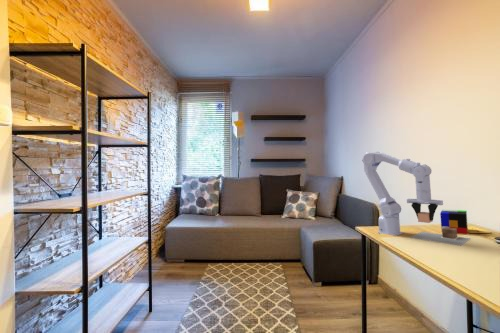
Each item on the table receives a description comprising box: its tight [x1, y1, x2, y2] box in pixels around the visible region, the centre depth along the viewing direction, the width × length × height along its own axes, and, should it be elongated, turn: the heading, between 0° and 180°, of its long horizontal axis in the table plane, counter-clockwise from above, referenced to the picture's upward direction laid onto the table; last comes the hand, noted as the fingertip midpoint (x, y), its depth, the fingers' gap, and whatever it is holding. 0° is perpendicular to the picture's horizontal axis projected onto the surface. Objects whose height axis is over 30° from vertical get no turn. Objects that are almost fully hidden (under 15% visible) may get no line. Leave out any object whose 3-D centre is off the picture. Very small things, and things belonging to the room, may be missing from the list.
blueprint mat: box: [409, 231, 471, 247], centre depth 125 cm, size 20×14×1 cm
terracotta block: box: [417, 211, 434, 224], centre depth 126 cm, size 4×4×4 cm
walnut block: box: [441, 227, 458, 239], centre depth 125 cm, size 4×4×4 cm
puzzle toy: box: [439, 209, 469, 235], centre depth 135 cm, size 10×10×10 cm
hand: (425, 219), depth 126 cm, fingers closed on terracotta block, 4 cm apart
